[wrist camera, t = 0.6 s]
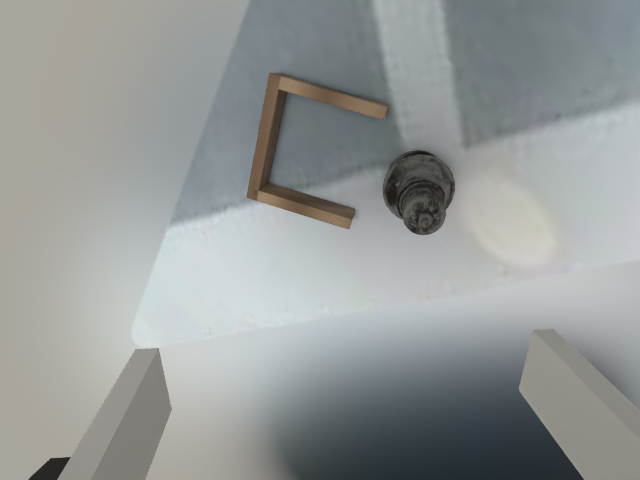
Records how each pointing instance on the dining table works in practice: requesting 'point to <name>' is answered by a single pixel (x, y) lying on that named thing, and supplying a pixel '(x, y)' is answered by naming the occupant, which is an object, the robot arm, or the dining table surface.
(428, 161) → the chess piece
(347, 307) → the dining table surface
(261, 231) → the dining table surface
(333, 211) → the pocket
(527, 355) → the robot arm
